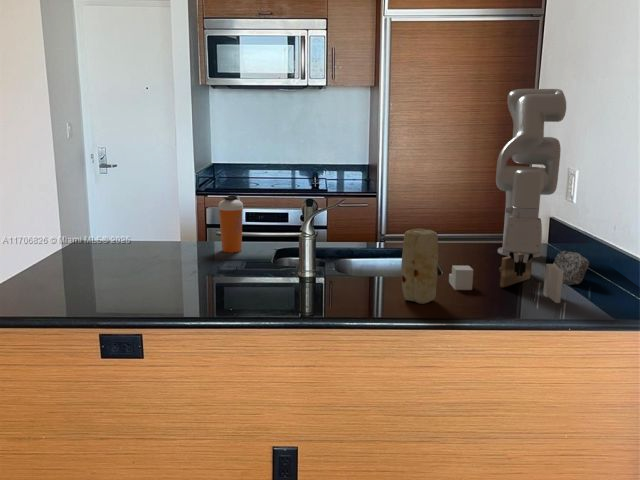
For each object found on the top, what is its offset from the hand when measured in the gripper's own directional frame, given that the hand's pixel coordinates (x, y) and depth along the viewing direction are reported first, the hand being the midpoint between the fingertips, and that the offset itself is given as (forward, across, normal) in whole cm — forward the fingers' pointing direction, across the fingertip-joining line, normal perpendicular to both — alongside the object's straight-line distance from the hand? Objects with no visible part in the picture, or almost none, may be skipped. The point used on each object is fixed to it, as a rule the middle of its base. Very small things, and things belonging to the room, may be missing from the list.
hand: (519, 274), depth 171 cm
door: (+4, -1, +6) cm, 7 cm away
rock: (+4, +15, +14) cm, 21 cm away
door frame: (+4, +5, +6) cm, 9 cm away
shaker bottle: (+4, -100, +16) cm, 101 cm away
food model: (+4, -26, -21) cm, 34 cm away
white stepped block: (+4, -16, -2) cm, 17 cm away
